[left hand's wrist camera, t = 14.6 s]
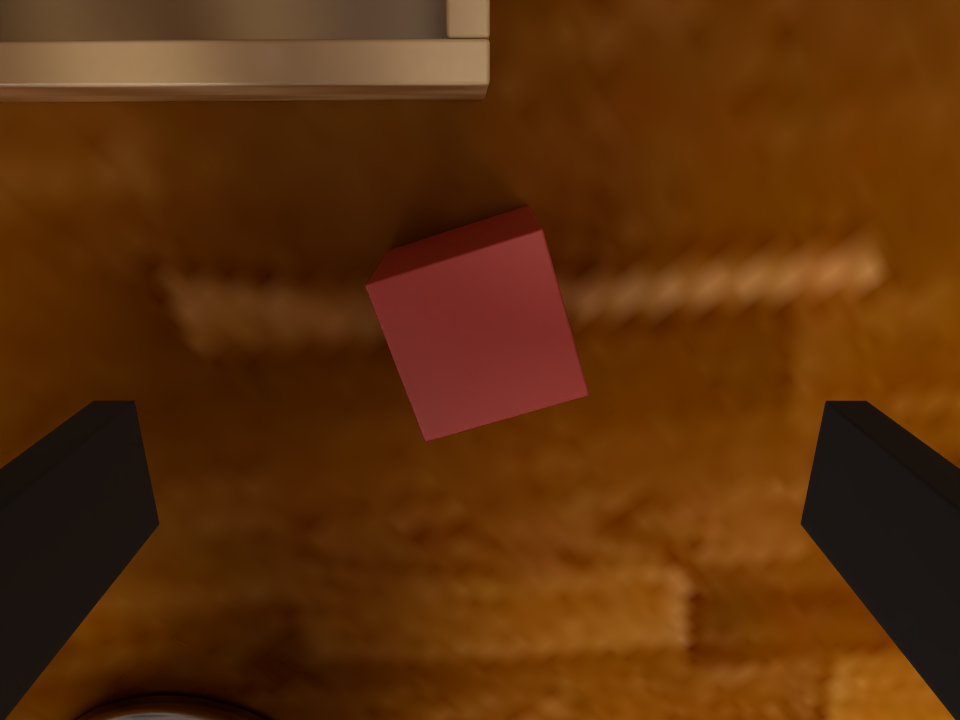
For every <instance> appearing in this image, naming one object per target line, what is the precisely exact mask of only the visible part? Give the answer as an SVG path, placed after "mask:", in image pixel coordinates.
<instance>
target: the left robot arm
mask: <svg viewBox="0 0 960 720" xmlns="http://www.w3.org/2000/svg"><path fill="white" fill-rule="evenodd" d="M158 525H159V520H158V515H157V510H156V505H155V500H154V495H153V491H152V486H151V481H150V476H149V471H148V466H147V461H146V456H145V452H144V447H143V442H142V437H141V432H140V427H139V422H138V417H137V412H136V408H135V403H134V401H93V402H91V403H90V404H89V405H87V406H86V407H85V408H83V409H82V410H81V411H79V412H78V413H76V414H75V415H74V416H72V417H71V418H70V419H68V420H67V421H65V422H64V423H63V424H61V425H60V426H59V427H57V428H56V429H55V430H53V431H52V432H50V433H49V434H48V435H46V436H45V437H44V438H42V439H41V440H39V441H38V442H37V443H35V444H34V445H33V446H31V447H30V448H29V449H27V450H26V451H24V452H23V453H22V454H20V455H19V456H18V457H16V458H15V459H13V460H12V461H11V462H9V463H8V464H7V465H5V466H4V467H2V468H1V469H0V720H5V719H6V717H7V716H8V715H9V713H10V712H11V711H12V710H13V708H14V707H15V706H16V705H17V703H18V702H19V701H20V700H21V698H22V697H23V696H24V695H25V693H26V692H27V691H28V689H29V688H30V687H31V686H32V684H33V683H34V682H35V681H36V679H37V678H38V677H39V676H40V674H41V673H42V672H43V671H44V669H45V668H46V667H47V665H48V664H49V663H50V662H51V660H52V659H53V658H54V657H55V655H56V654H57V653H58V652H59V650H60V649H61V648H62V646H63V645H64V644H65V643H66V641H67V640H68V639H69V638H70V636H71V635H72V634H73V633H74V631H75V630H76V629H77V628H78V626H79V625H80V624H81V622H82V621H83V620H84V619H85V617H86V616H87V615H88V614H89V612H90V611H91V610H92V609H93V607H94V606H95V605H96V604H97V602H98V601H99V600H100V598H101V597H102V596H103V595H104V593H105V592H106V591H107V590H108V588H109V587H110V586H111V585H112V583H113V582H114V581H115V580H116V578H117V577H118V576H119V574H120V573H121V572H122V571H123V569H124V568H125V567H126V566H127V564H128V563H129V562H130V561H131V559H132V558H133V557H134V555H135V554H136V553H137V552H138V550H139V549H140V548H141V547H142V545H143V544H144V543H145V542H146V540H147V539H148V538H149V537H150V535H151V534H152V533H153V531H154V530H155V529H156V528H157V526H158ZM801 525H802V526H803V528H804V529H805V530H806V531H807V533H808V534H809V535H810V537H811V538H812V539H813V540H814V542H815V543H816V544H817V545H818V547H819V548H820V549H821V550H822V552H823V553H824V554H825V555H826V557H827V558H828V559H829V561H830V562H831V563H832V564H833V566H834V567H835V568H836V569H837V571H838V572H839V573H840V574H841V576H842V577H843V578H844V580H845V581H846V582H847V583H848V585H849V586H850V587H851V588H852V590H853V591H854V592H855V593H856V595H857V596H858V597H859V598H860V600H861V601H862V602H863V604H864V605H865V606H866V607H867V609H868V610H869V611H870V612H871V614H872V615H873V616H874V617H875V619H876V620H877V621H878V622H879V624H880V625H881V626H882V628H883V629H884V630H885V631H886V633H887V634H888V635H889V636H890V638H891V639H892V640H893V641H894V643H895V644H896V645H897V646H898V648H899V649H900V650H901V652H902V653H903V654H904V655H905V657H906V658H907V659H908V660H909V662H910V663H911V664H912V665H913V667H914V668H915V669H916V671H917V672H918V673H919V674H920V676H921V677H922V678H923V679H924V681H925V682H926V683H927V684H928V686H929V687H930V688H931V689H932V691H933V692H934V693H935V695H936V696H937V697H938V698H939V700H940V701H941V702H942V703H943V705H944V706H945V707H946V708H947V710H948V711H949V712H950V713H951V715H952V716H953V717H954V719H955V720H960V469H959V468H958V467H956V466H955V465H953V464H952V463H951V462H949V461H948V460H947V459H945V458H944V457H942V456H941V455H940V454H938V453H937V452H936V451H934V450H933V449H931V448H930V447H929V446H927V445H926V444H925V443H923V442H922V441H921V440H919V439H918V438H916V437H915V436H914V435H912V434H911V433H910V432H908V431H907V430H905V429H904V428H903V427H901V426H900V425H899V424H897V423H896V422H895V421H893V420H892V419H890V418H889V417H888V416H886V415H885V414H884V413H882V412H881V411H879V410H878V409H877V408H875V407H874V406H873V405H871V404H870V403H869V402H867V401H826V403H825V408H824V412H823V417H822V422H821V427H820V432H819V437H818V442H817V447H816V452H815V456H814V461H813V466H812V471H811V476H810V481H809V486H808V491H807V495H806V500H805V505H804V510H803V515H802V520H801ZM77 720H265V719H264V718H261V717H259V716H257V715H255V714H253V713H250V712H248V711H245V710H243V709H240V708H237V707H235V706H231V705H228V704H224V703H221V702H217V701H212V700H207V699H202V698H195V697H187V696H146V697H138V698H131V699H126V700H122V701H118V702H114V703H111V704H108V705H105V706H102V707H99V708H97V709H95V710H93V711H91V712H89V713H87V714H85V715H83V716H82V717H80V718H78V719H77Z"/></svg>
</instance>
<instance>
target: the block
mask: <svg viewBox="0 0 960 720" xmlns="http://www.w3.org/2000/svg"><path fill="white" fill-rule="evenodd" d="M365 288H366V290H367V293H368V295H369V298H370V300H371V303H372V306H373V308H374V311H375V313H376V316H377V319H378V321H379V324H380V326H381V329H382V331H383V334H384V337H385V339H386V342H387V344H388V347H389V350H390V352H391V355H392V357H393V360H394V362H395V365H396V368H397V370H398V373H399V375H400V378H401V381H402V383H403V386H404V388H405V391H406V393H407V396H408V399H409V401H410V404H411V406H412V409H413V411H414V414H415V417H416V419H417V422H418V424H419V427H420V430H421V432H422V435H423V437H424V440H425V441H430V440H434V439H437V438H441V437H444V436H448V435H451V434H455V433H458V432H462V431H465V430H469V429H472V428H476V427H479V426H483V425H486V424H490V423H493V422H497V421H500V420H504V419H507V418H511V417H514V416H518V415H521V414H525V413H528V412H532V411H535V410H539V409H542V408H546V407H549V406H553V405H556V404H560V403H563V402H567V401H570V400H574V399H577V398H581V397H584V396H587V395H589V392H588V388H587V385H586V381H585V378H584V374H583V371H582V367H581V363H580V360H579V356H578V353H577V349H576V346H575V342H574V338H573V335H572V331H571V328H570V324H569V321H568V317H567V313H566V310H565V306H564V303H563V299H562V296H561V292H560V288H559V285H558V281H557V278H556V274H555V271H554V267H553V263H552V260H551V256H550V253H549V249H548V246H547V242H546V238H545V235H544V231H543V229H542V227H541V226H540V224H539V222H538V220H537V219H536V217H535V215H534V213H533V212H532V210H531V208H530V207H529V206H524V207H521V208H518V209H515V210H512V211H509V212H505V213H502V214H499V215H496V216H493V217H490V218H487V219H484V220H480V221H477V222H474V223H471V224H468V225H465V226H462V227H459V228H455V229H452V230H449V231H446V232H443V233H440V234H437V235H434V236H431V237H427V238H424V239H421V240H418V241H415V242H412V243H409V244H406V245H402V246H399V247H396V248H393V249H390V250H389V251H388V252H387V254H386V255H385V257H384V258H383V260H382V261H381V262H380V264H379V265H378V267H377V268H376V270H375V271H374V273H373V274H372V276H371V277H370V278H369V280H368V281H367V283H366V284H365Z"/></svg>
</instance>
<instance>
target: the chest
mask: <svg viewBox="0 0 960 720" xmlns="http://www.w3.org/2000/svg"><path fill="white" fill-rule="evenodd" d="M489 37H490V0H0V102H95V101H289V100H482V99H485V96H486V93H487V89H488V86H489V82H490V42H489Z"/></svg>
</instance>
